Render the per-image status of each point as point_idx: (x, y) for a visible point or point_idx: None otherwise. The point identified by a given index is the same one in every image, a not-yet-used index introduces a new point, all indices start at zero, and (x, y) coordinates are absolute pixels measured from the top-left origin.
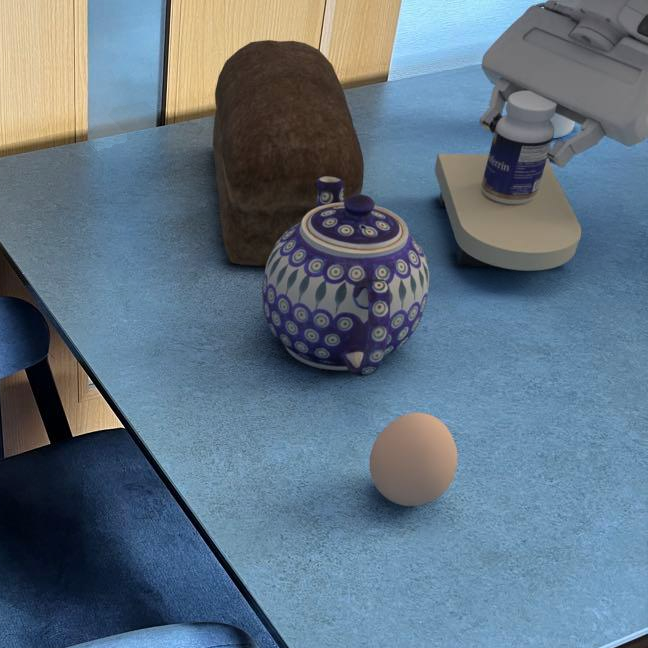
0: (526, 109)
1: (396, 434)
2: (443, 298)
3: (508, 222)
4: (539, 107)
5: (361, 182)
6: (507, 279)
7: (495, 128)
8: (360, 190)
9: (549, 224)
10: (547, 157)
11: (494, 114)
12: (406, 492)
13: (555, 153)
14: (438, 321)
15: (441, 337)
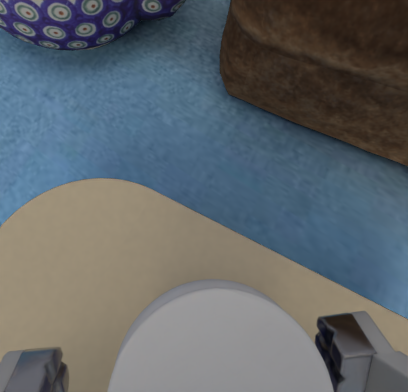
0: (156, 309)
1: None
2: (93, 156)
3: (104, 271)
4: (138, 377)
5: (251, 3)
6: None
7: (319, 350)
8: (245, 12)
9: (52, 346)
10: (61, 352)
11: (344, 341)
12: None
13: (24, 357)
14: (52, 119)
15: (22, 103)
